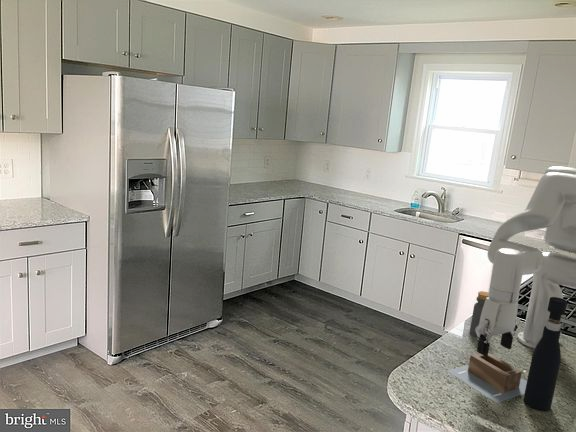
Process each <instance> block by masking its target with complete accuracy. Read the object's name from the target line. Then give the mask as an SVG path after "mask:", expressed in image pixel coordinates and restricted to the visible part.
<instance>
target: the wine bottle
mask: <svg viewBox="0 0 576 432" xmlns="http://www.w3.org/2000/svg"><path fill="white" fill-rule="evenodd" d="M567 305H568V301H567V300H566V299H564V298H563V299H562V298H558V297H550V300H549V305H548V309H547V310H548V311H549V312H550V315H549V319H548V320H547V321H546V323H547V324H546V326H545V327H544V330H543V335H542V338H541V339H540V341H539V342H538V344H537V345H536V347H535V349H533V352H532V356H531V359H530V364H529V369H528V374H527V379H526V381H527V384H526V389H525V394H523V403H524V404H525V405H526V407H529V408H530V409H532V410H534V411H537V412H538V411H539V412H549V411H551V409H552V404H553V400H554V399H553V398H554V394H555V391H556V390H555V389H556V385H557V381H558V376H559V372H560V367H561V363H562V362H561V360H562V354H561V353H562V352H561V346H560V336H561V335H560V333H561V334H562V331H561V326H562V324H561V323H562V322H561V319H562V316H564V315H565V314H566V311H567Z"/></svg>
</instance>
